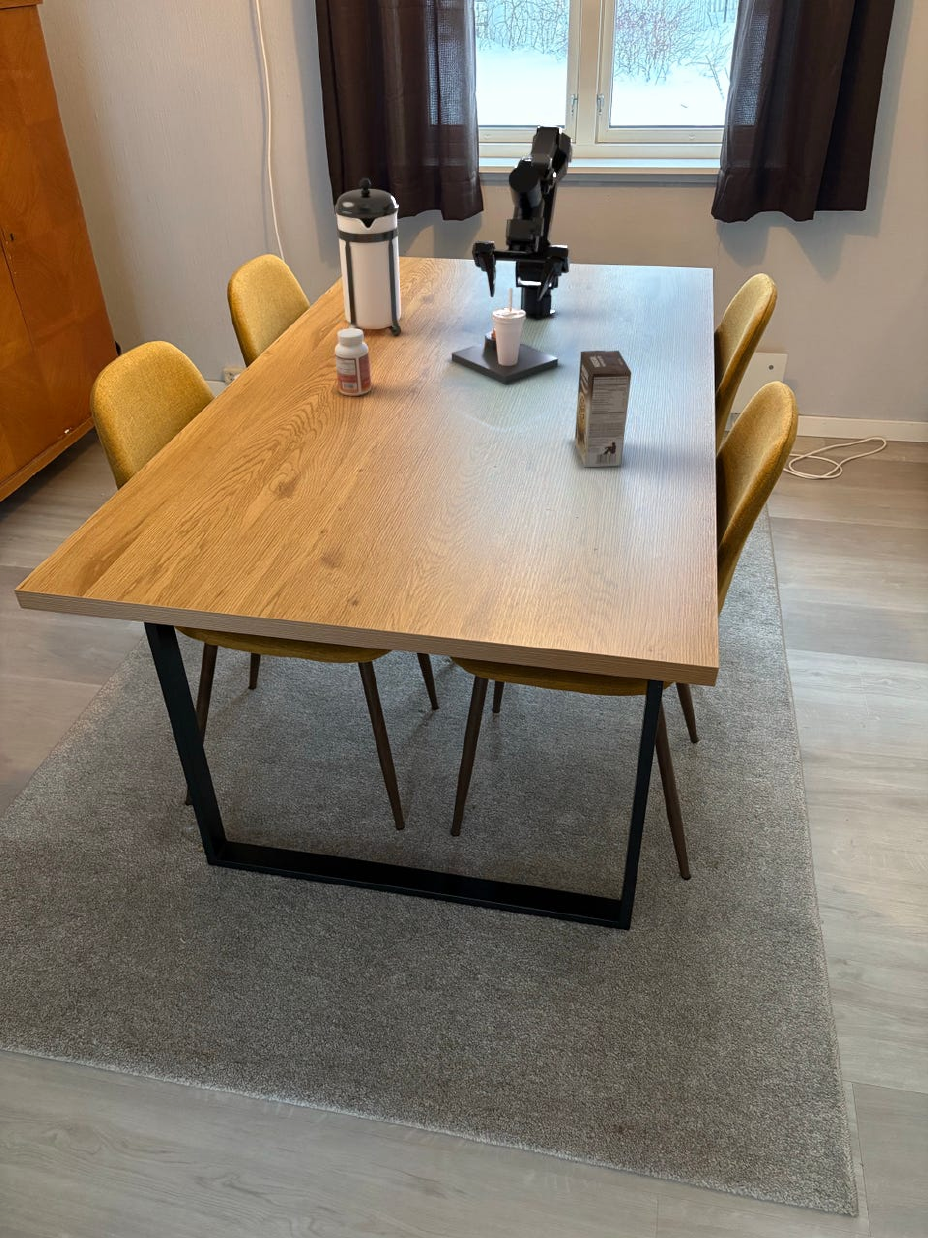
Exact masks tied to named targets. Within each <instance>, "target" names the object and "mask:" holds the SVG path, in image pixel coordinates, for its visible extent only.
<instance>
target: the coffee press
mask: <svg viewBox="0 0 928 1238" xmlns="http://www.w3.org/2000/svg"><path fill="white" fill-rule="evenodd" d="M358 185H359V187H360V188H358V189H352V190H348V191H346V192H344V193H343V194H341V195H339V197H338V199H337V201H336V204H334V212H335V215H336V219H337V225H336V233H337V237H338V243H339V244H338V245H339V255H340V268H341V269H340V271H341V278H342V279H341V281H342V282H341V283H342V293H343V304H344V305H343V306H344V316H345V319H346V322H347V323H348V324H349V326H348V328H356V329H360V330H363V329H365V330H379V329H385V328H387V329H389V330H390V332H391V334H392V335H394V336H397V335H400V334H402V328H401V326H400V324H399V321H400V320H401V316H402V306H401V305H402V304H401V303H402V302H401V282H400V281H401V280H400V279H401V278H400V258H399V257H400V256H399V234H400V231H399V230H400V229H399V224H398V223H399V222H398V212H399V204H398V203H397V202H396V198H395V197H394V196H393V195H392V194H391V193H389V192H387V191H385V190H382V189H376V188H371V185H372V183H371V181H370V179H369V178H368V177H363V178H361V179H360V180H359V183H358Z"/></svg>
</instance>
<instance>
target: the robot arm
mask: <svg viewBox="0 0 928 1238" xmlns="http://www.w3.org/2000/svg"><path fill="white" fill-rule="evenodd" d="M573 147H574V146H573V141H572V138H571V136H569V135H568V134H566V133H564V132H563V130H562V127H560V126H558V125H540V126H537V127H536V131H535V134H533V136H532V142H531V150H530V153H529V154H528V155H525V156H522V157H521V158H520V159H519V161H518V163H517V166H514V168H513V169H512V170H511V171H510V173H509V175H508V185H509V191H510V196H511V201H512V204H513V205H514V207H513V214H512V218H509V219H506V226H505V227H506V228H505V236H504V237H505V244H506V245H505V246H507V249H502V248H501V249H499V248H496V246H495V242H494V241H488V240H476V241H475V242H474V243H473V244H472V248H471V249H472V250H471V255H472V258H473V262H474V265H475V267H476V268H479V269H480V270H481V271H482V272H484V273H486V276H487V282H488V286H489V287H488V288H489V294H490V298H493V297H494V296H495V291H496V278H497V268H496V265H497V261H509V262H515V265H514V266H515V268H514V273H515V288H517V289H518V288H520V289H521V290H520V309H521V310H523V311H525V313H526V316H525V317H526V318H528V319H531V320H533V321H534V320H539V319H543V318H546V317H548V316H552V315H555V314H556V311H555V310H552V299H553V298H552V297H553V296H552V291H554V290H555V289H558V288H559V278H560V277H562V275H563V274H568V273H569V272H570V267H571V254H570V248H569V247H568V245H556V244H552V243H551V242H550V241H551V235H552V228H553V221H554V214H555V209H556V208H555V207H556V201H557V193H558V187H559V184H560V182H561V181H562V180H563V179H564V178H565V176H566V175H567V174H568V169H569V164H571V163H572V160H573V150H574V148H573Z"/></svg>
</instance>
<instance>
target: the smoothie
mask: <svg viewBox="0 0 928 1238" xmlns="http://www.w3.org/2000/svg"><path fill="white" fill-rule="evenodd" d="M513 292H514V289H513V288H509V299H508V300H509V301H508V302H509V304H508V307H500V308H496V309H494V310H493V311H492V316H491V317H492V318H491V319H492V320H493V324H494V325H493V327H495V335H496V345H497V354H498V363H499V364H501V365H505V366H511V365H515V364H516V363H517V360H518V354H519V348H520V343H521V340H522V334H523V328H524V321H525V320H526V319H527V317H525V316H526V313H525V311H523V310H521V308H517V307H513V296H514V295H513V294H514V293H513Z"/></svg>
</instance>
